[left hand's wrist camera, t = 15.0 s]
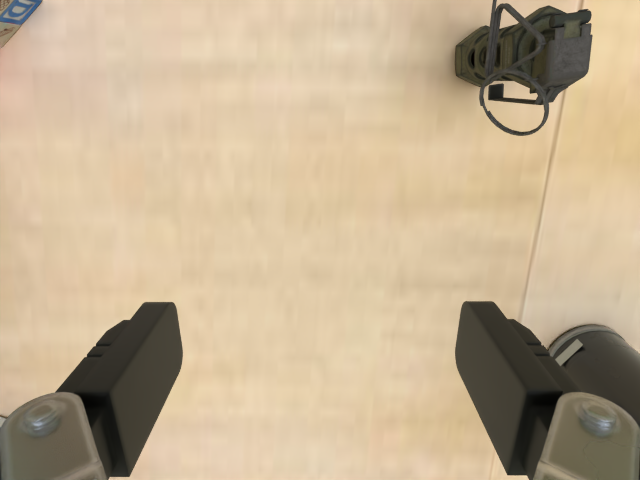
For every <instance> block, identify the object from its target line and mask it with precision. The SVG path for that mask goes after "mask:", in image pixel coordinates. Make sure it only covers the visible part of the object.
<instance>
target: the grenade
mask: <svg viewBox="0 0 640 480" xmlns="http://www.w3.org/2000/svg"><path fill="white" fill-rule="evenodd" d="M496 1H497V0H493V5H492V13H491V21H490V27H488V26H483V27H480V28H479V29H477V30H476V31H475V32H473V33H472V34H471V35H469V36H468V37H467V38H465V39H464V40H463V41H462V42H460V43H459V44H458V45H457V46H456V56H455V65H456V76H458V77H460V78H462V79H464V80H466V81H468V82H470V83H472V84H474V85H477V86H479V87H481V89H480V95H479V99H480V105H481V106H483V108H484V110H485V112H486V115H487V116H488V117H489V119H490V120H491V121H492V122H493V123H494V124H495V125H496V126H497V127H498V128H500V129H501V130H503V131H505V132H507V133H510V134H513V135H518V136H524V135H530V134H533V133H535V132H536V131H538V130H539V129H540V128H541V127H542V126H543V125H544V124H545V122H546V120H547V118H548V114H549V102H553V101H554V100H555V98H556V96H557V95H558V94H559V93H560V92H561V91H563V90H564V89H566V88H568V86H570V85H571V84H573V83H575V82H576V81H578V80H579V79H581V78H583V77H584V76H585V75H586V74H587V72H588V69H589V61H590V52H591V43H592V35H590V33H591V23H589V24H586V23H588V22H589V21H590V19H591V11H587V10H588V9H584V10H579V11H578V12H575V13H565V12H563V11H561V10H559V9H556V8H554V7H551V6H546V7H542V8H539V9H538V10H536V11H535V12H533V13H532V14H530V15H529V16H527V17H526V18H524V17H522V16H521V15H520V14H519V13H518V12H517V11H516V10H515V9H514V8H513V7H512V6H511V5H509V4H507V3H506V4H500V5H499V6H498V7H497V9H496ZM495 9H496V11H495ZM503 9H505V10H507V11H508V12H509V13H510V14H511V15H512V16H513V17H514V18H515V19H516V20H517V21H518V22H519V23H518V24H516V25H512V26H508V27H505V28H501V29H499V27H500V20H501V13H502V10H503ZM493 81H515V82H517V83H520V84H522V85H524V86H526V87H528V88H530V94H531V93H537V94H538V97H537V99H536V100H528V99H515V98H503V91H504V84H495V85H489V84H490V83H492V82H493ZM487 85H489V94H488V100H493V101H503V102H514V103H524V104H536V105H544V111H545V113H544V118H543V120H542V123H541V124H540V125H539V126H538V127H537V128H536V129H534V130H531V131H528V132H519V131H514V130H511V129H509V128H507V127H505V126H503V125H502V124H501V123H499V122H498V121H497V120H496V119H495V118H494V117H493V115H492V114H491V112H490V111H487V109H486V107H485V103H484V98H483V94H484V88H485V87H486V86H487Z"/></svg>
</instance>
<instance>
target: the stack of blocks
mask: <svg viewBox="0 0 640 480" xmlns="http://www.w3.org/2000/svg"><path fill="white" fill-rule="evenodd" d="M41 2H42V0H0V47H3V46H4V45H5V43H6V42H7V41H8V40H9V39H10V38H11V37H12V35H13V34H14V33H15V32H16V31H17V30H18V29H19V28H20V26H21V24H22V23H24V21H25V20H26V19H27V18H28V17H29V16H30V15H31V13H32V12H33V11H34V10H35V9H36V8H37V6H38V5H39V4H40V3H41Z"/></svg>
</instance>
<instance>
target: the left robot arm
mask: <svg viewBox="0 0 640 480" xmlns="http://www.w3.org/2000/svg"><path fill="white" fill-rule="evenodd" d="M182 358H183V350H182V342H181V336H180V329H179V322H178V315H177V309H176V306H175V304H174V303H173V302H145V303H143V304H142V305H141V307H140V308H139V309H138V311H137V312H136V313H135V314H134V316H133V317H132V318H131V319H130V320H123V321H122V322H120V323H119V324H117V325H115V326H114V327H112V328H111V329H109V330H108V331H107V332H106V333H105V334H104V335H103V336H102V337H101V339H100V340H99V341H98V342H97V343H96V346H94V347H93V348H92V349H91V351H90V352H89V353H88V354H87V357H85V358H84V359H83V360H82V361H81V362H80V364H79V365H78V366H77V367H76V368H75V370H74V371H73V372H72V373H71V374H70V375H69V377H68V378H67V379H66V380H65V381H64V383H63V384H62V385H61V386H60V387H59V388H58V390H57V391H56V392H55V393H51V394H47V395H44V396H41V397H38V398H36V399H33V400H31V401H29V402H27V403H25V404H24V405H22V406H21V407H19V408H18V409H16V410H15V411H14V412H13V413H12V414H10V415H9V416H8V418H7V419H6V420H5V421H4V423H3V424H2V426H1V427H0V480H108V479H109V477H130V475H131V472H132V470H133V468H134V466H135V464H136V462H137V460H138V458H139V456H140V454H141V452H142V449H143V447H144V445H145V443H146V441H147V439H148V437H149V435H150V433H151V431H152V429H153V426H154V424H155V422H156V420H157V418H158V416H159V414H160V412H161V410H162V408H163V406H164V403H165V401H166V399H167V397H168V395H169V393H170V391H171V389H172V387H173V385H174V383H175V380H176V378H177V376H178V374H179V372H180V369H181V365H182ZM455 358H456V365H457V368H458V371H459V374H460V376H461V378H462V380H463V382H464V384H465V386H466V388H467V390H468V393H469V395H470V397H471V399H472V401H473V403H474V405H475V407H476V410H477V412H478V414H479V416H480V418H481V420H482V422H483V424H484V426H485V429H486V431H487V433H488V435H489V437H490V439H491V441H492V443H493V446H494V448H495V450H496V452H497V454H498V456H499V458H500V460H501V462H502V465H503V467H504V469H505V471H506V473H507V475H527V476H528V478H529V480H640V354H639V353H638V352H637V351H636V350H634V349H633V348H632V347H631V346H630V345H629V344H628V343H626V342H625V340H624V339H623V338H622V337H621V336H620V335H618V334H617V333H616V332H615V331H613V330H612V329H610V328H608V327H605V326H600V325H587V326H582V327H578V328H575V329H573V330H570V331H568V332H567V333H565V334H563V335H562V336H561V337H559V338H558V339H557V340H556V341H555V342H554V343H553V344H552V346H551V347H550V349H549V350H548V351H547V349H546V348H545V347H544V346H541V342H540V341H539V340H538V339H537V337H536V336H535V335H534V334H533V333H532V331H531V330H529V329H528V328H526V327H525V326H523V325H522V324H520V323H519V322H517V321H516V320H514V319H507V318H506V317H505V316H504V314H503V313H502V312H501V310H500V309H499V308H498V307H497V305H496V304H495V303H494V302H492V301H466V302H464V303H463V305H462V308H461V314H460V321H459V327H458V334H457V341H456V348H455Z"/></svg>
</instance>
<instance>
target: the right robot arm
mask: <svg viewBox="0 0 640 480" xmlns="http://www.w3.org/2000/svg"><path fill="white" fill-rule="evenodd" d="M5 420H6V418H3V417H0V427H1V426H2V424H3V423H4V421H5Z"/></svg>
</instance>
